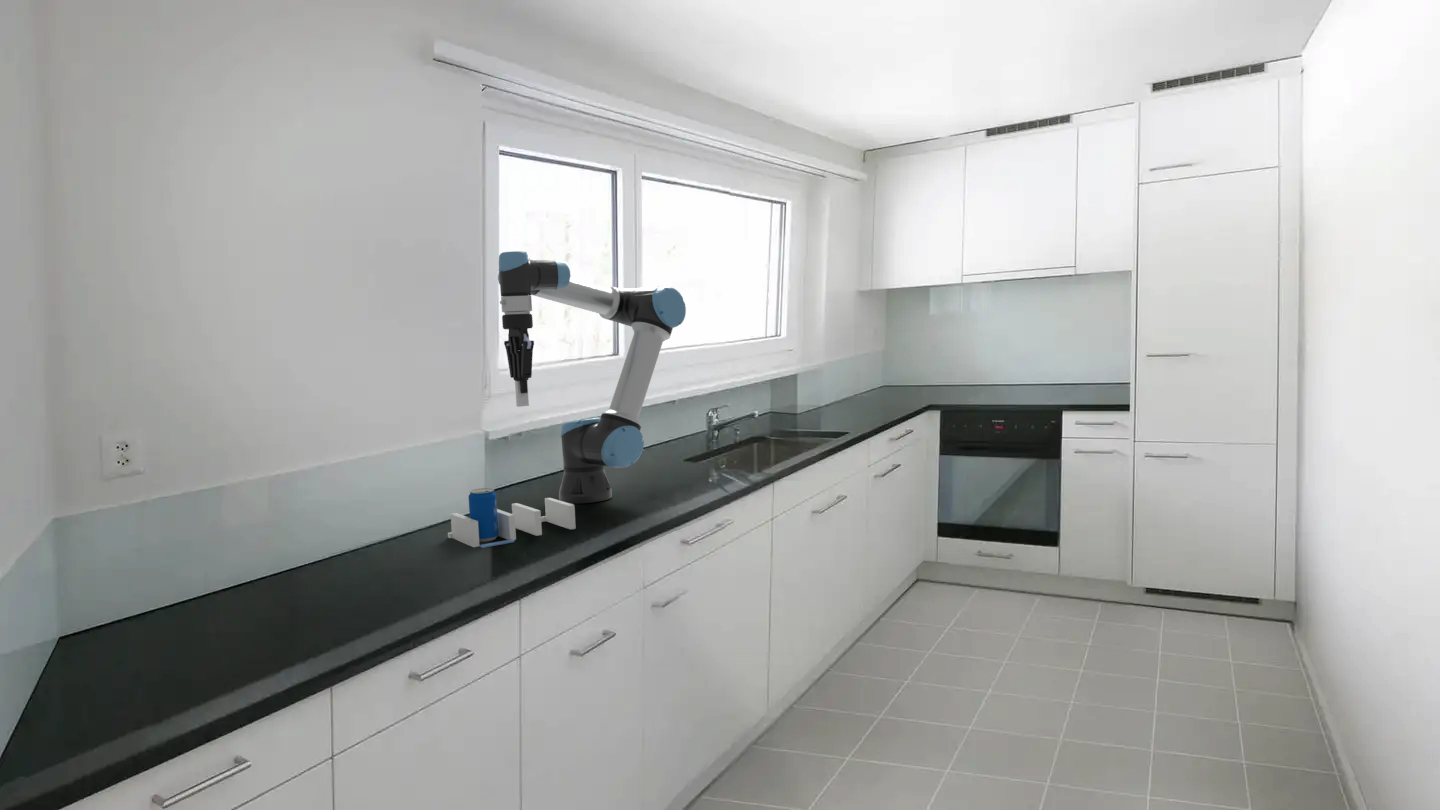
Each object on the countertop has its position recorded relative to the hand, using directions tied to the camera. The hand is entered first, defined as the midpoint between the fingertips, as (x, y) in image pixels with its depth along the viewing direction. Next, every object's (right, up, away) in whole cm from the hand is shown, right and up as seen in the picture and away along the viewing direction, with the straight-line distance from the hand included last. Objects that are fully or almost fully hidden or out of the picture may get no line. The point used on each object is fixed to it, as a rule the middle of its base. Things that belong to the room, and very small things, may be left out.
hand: (522, 405), depth 248 cm
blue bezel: (-2, -33, -19) cm, 38 cm away
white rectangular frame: (-1, -31, -8) cm, 32 cm away
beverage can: (-6, -32, -14) cm, 36 cm away
